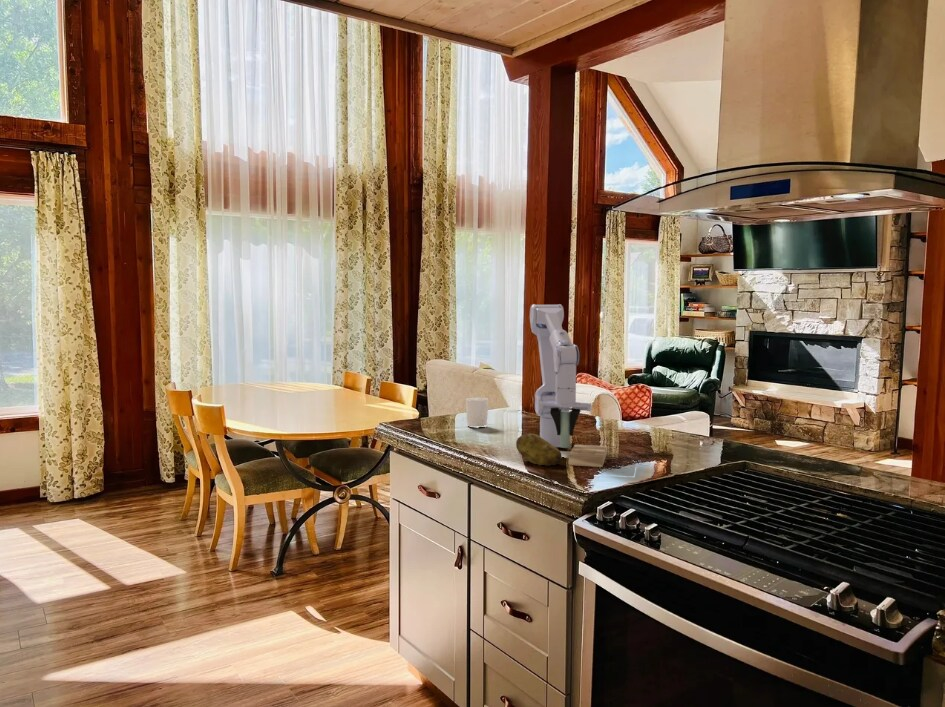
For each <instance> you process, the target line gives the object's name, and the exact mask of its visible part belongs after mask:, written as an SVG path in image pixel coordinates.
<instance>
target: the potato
mask: <svg viewBox="0 0 945 707" xmlns="http://www.w3.org/2000/svg"><path fill="white" fill-rule="evenodd" d="M515 446H516V450H517V451H518V452H519V453H520V455H521V456H522V457H523V459H526V460H528V461H529V463H530V464H532V463H533V465H535V464H538V465H537V466H541V465H545V466H544V467H552V466H551V465H553V466H556V465H557V464H560V463H561V462H562V456H561V452H560V451H561V450H559V449H558V447H554V446H553V445H551V444H550V443H548V442H547V441H546V440H544V439H542V438H541V437H540V435H537V434H535V433H531V432H528V433H524V434H522V435H520V436H519V437H518V438H517V439H516V443H515Z"/></svg>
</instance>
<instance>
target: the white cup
mask: <svg viewBox="0 0 945 707" xmlns="http://www.w3.org/2000/svg"><path fill="white" fill-rule="evenodd" d="M465 410H466V413H465V414H466V421H467V422H466V423H467V427H468V426H484V425H487V424H488V413H489V398H488V397H479V396H476V397H467V398H465ZM487 426H488V425H487Z"/></svg>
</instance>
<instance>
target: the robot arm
mask: <svg viewBox="0 0 945 707" xmlns="http://www.w3.org/2000/svg"><path fill="white" fill-rule="evenodd" d="M564 318H565V311H564V306H563V305H562V304H560V303H559V304H535V303H533V304H531V306H530V308H529V323H530V329H531V333H532V334H534V335H535V336H536V338H537V343H538V352H539V353H538V354H539V360H540V361H539V362H540V372H541V383H542V385H541V386H540V387H539V388H537V390H536V391H535V393H534V410H535V414H536V415H537V416H539V417H540V418H539V437H541V438H542V439H544V440H546V441H547V442H548V443H550V444H551V445H553V446H554V447H556V448H561V447H560V412H570V420H571V426H570V436H573V435H574V433H575V426H576V424H577V421H578V419H579V416H580V414H581V412H582V411H587V412H592V403H588V402H577V401H576V400H577V398H576V397H577V392H576V391H577V389H576V388H577V366H579V362H580V351H579V347H578V345H577V344H575V343H572V339H571V338H570V336H569V333H568V332H567V331H566V330H565V329H563V327H562V324H563V322H564Z"/></svg>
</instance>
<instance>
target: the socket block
mask: <svg viewBox="0 0 945 707" xmlns="http://www.w3.org/2000/svg"><path fill="white" fill-rule="evenodd" d="M569 452H570V454H569V458H568V466H582V467H596V468H597V467H599V468H602V467H603V466H604V464H605V461H606V458H607V446H606V445H594V444H574V445H573V447H572V449H571V450H570V451H569Z"/></svg>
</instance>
